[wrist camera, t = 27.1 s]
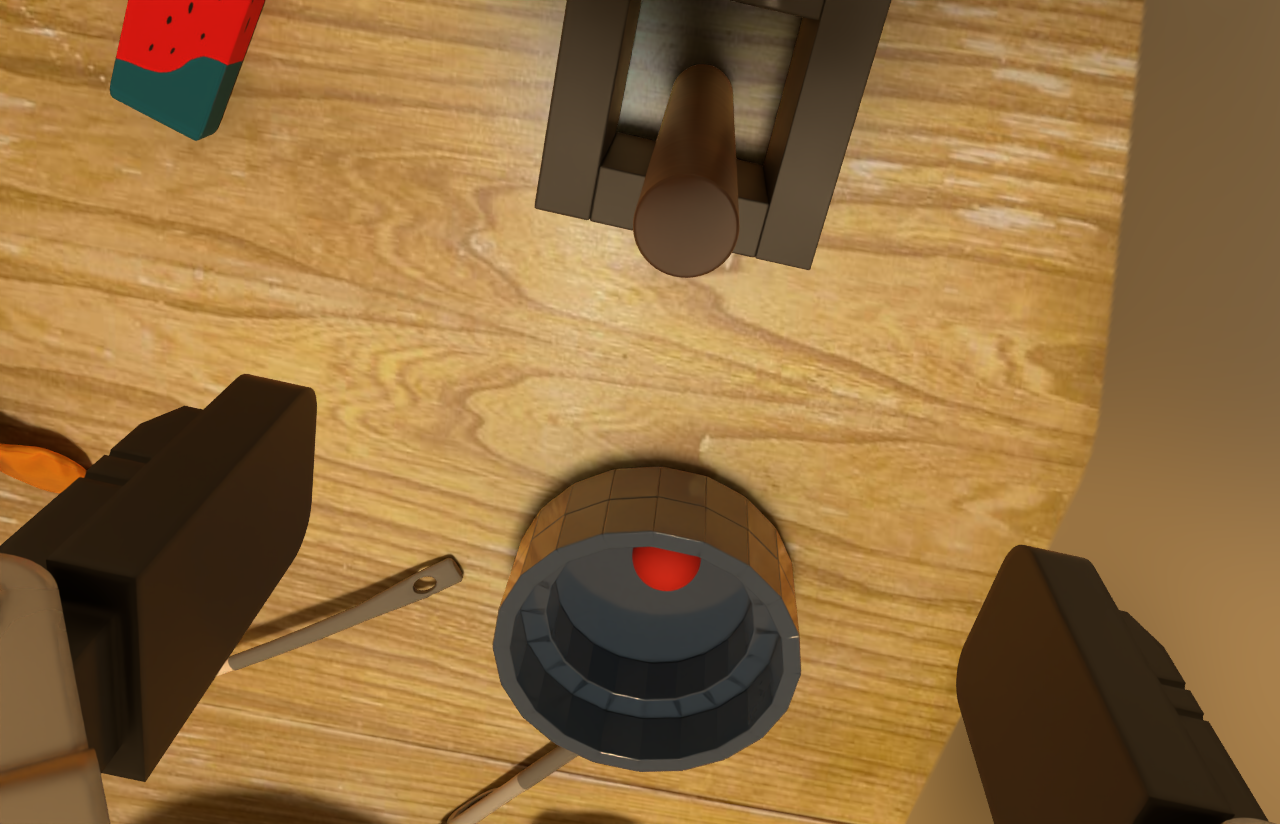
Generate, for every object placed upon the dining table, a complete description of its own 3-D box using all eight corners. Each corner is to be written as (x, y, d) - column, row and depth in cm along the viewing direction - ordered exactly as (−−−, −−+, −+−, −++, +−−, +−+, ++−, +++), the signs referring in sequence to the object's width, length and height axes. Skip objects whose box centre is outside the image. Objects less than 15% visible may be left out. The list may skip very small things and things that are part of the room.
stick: (739, 71, 37) (751, 187, 21) (724, 133, 38) (725, 288, 22) (678, 57, 37) (644, 163, 21) (665, 120, 38) (623, 265, 22)
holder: (874, -41, 35) (901, -33, 30) (798, 223, 40) (809, 270, 35) (604, -103, 35) (583, -107, 30) (559, 169, 40) (533, 209, 34)
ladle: (-11, 686, 54) (-63, 744, 50) (439, 483, 52) (426, 526, 47) (58, 764, 57) (14, 826, 52) (493, 573, 54) (486, 622, 49)
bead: (691, 586, 47) (708, 523, 47) (692, 608, 44) (709, 540, 43) (627, 570, 47) (642, 507, 47) (623, 590, 44) (640, 523, 43)
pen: (434, 822, 58) (427, 842, 57) (599, 708, 53) (596, 728, 51) (446, 831, 58) (440, 852, 57) (612, 719, 53) (609, 739, 52)
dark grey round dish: (826, 494, 46) (839, 571, 40) (752, 706, 52) (755, 797, 46) (541, 432, 45) (517, 501, 40) (501, 653, 51) (476, 738, 46)
